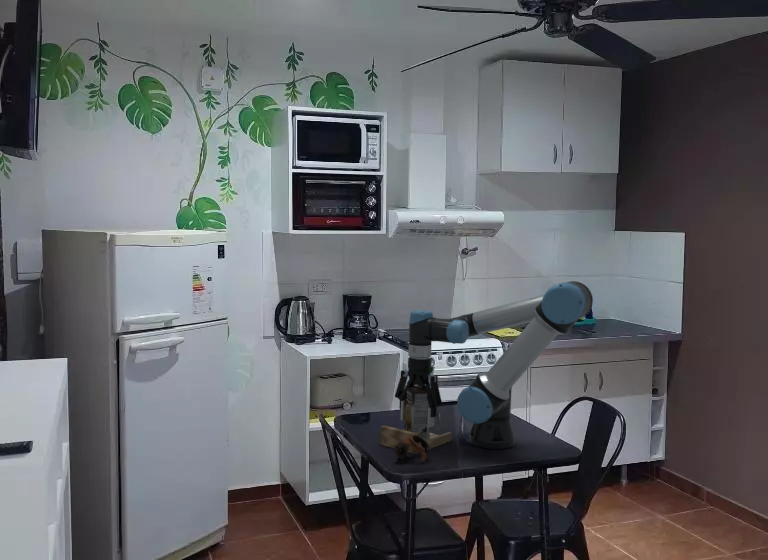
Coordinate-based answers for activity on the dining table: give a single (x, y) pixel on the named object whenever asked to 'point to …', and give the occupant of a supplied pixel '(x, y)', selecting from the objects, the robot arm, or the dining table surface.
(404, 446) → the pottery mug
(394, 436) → the holder
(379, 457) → the dining table surface
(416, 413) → the coffee box
